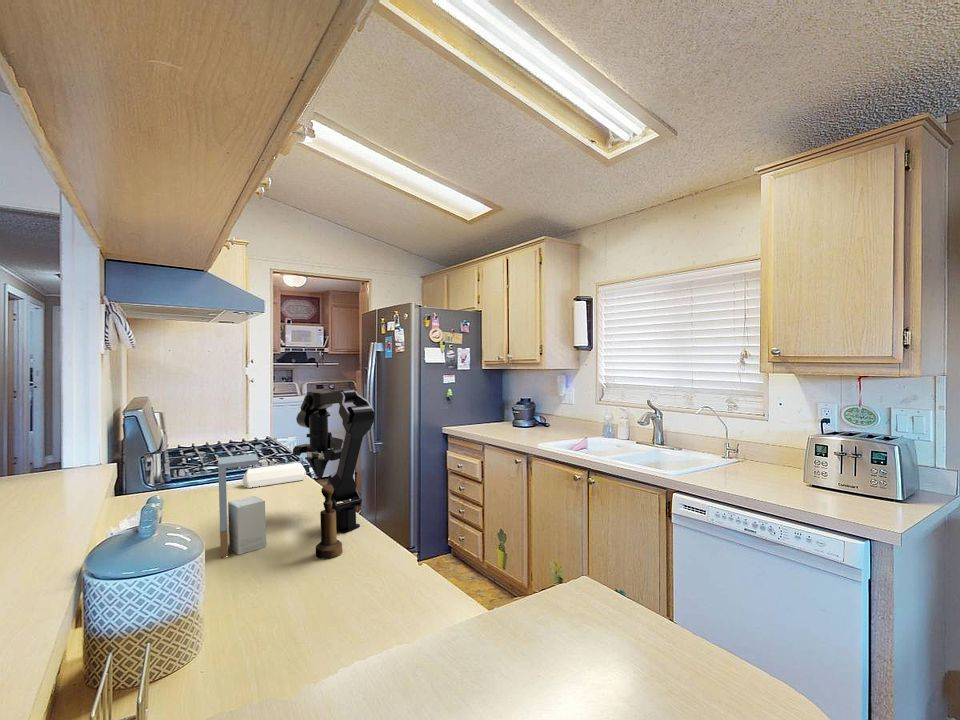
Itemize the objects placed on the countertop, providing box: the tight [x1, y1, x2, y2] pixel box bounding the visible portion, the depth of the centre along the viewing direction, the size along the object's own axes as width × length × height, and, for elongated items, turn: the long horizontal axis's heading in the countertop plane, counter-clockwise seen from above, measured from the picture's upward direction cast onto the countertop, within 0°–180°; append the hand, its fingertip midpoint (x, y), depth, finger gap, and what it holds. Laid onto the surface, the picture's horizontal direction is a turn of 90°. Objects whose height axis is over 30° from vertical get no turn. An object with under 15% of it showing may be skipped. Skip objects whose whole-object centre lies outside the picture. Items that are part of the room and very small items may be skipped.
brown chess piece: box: [315, 483, 343, 560], centre depth 125 cm, size 7×6×18 cm
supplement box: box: [227, 495, 267, 555], centre depth 130 cm, size 7×7×13 cm
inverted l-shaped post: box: [217, 453, 260, 558], centre depth 129 cm, size 9×9×24 cm
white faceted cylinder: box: [242, 462, 307, 489], centre depth 195 cm, size 7×7×24 cm
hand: (319, 478), depth 154 cm, fingers closed
